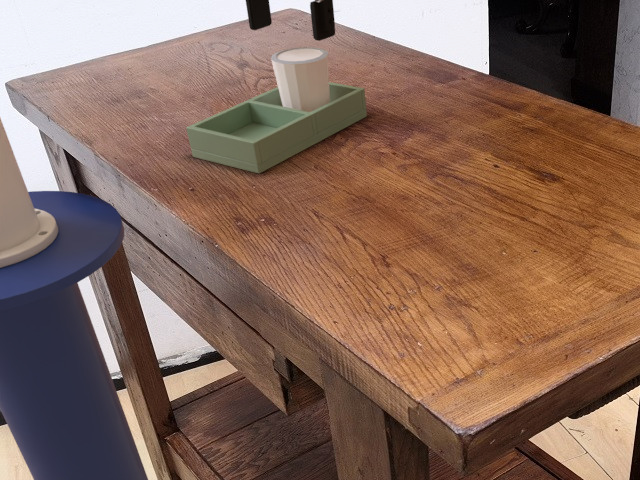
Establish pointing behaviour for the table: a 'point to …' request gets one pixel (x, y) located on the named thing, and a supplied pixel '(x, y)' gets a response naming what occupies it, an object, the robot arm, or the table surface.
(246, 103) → the tray
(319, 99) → the white tapered cup
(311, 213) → the table surface
